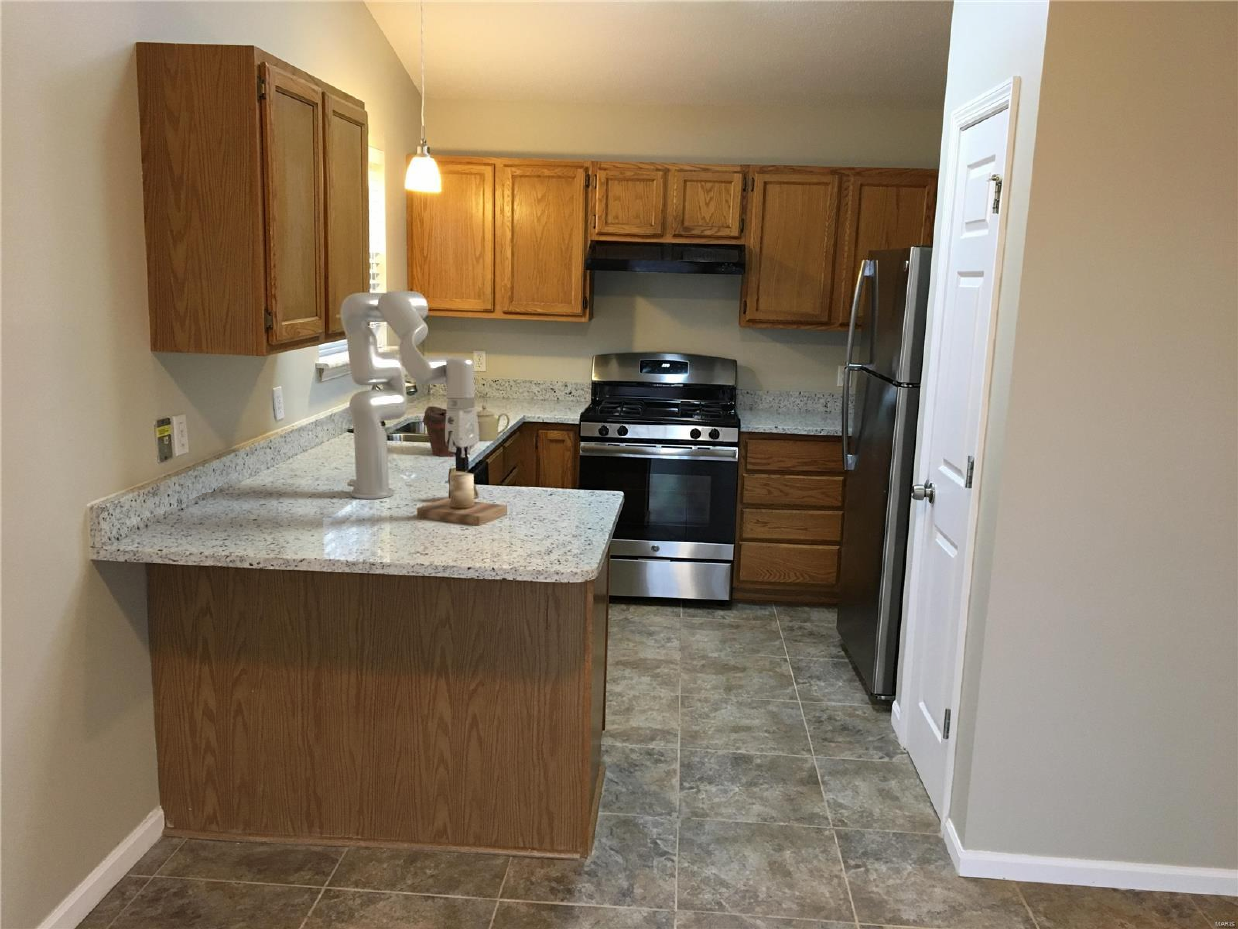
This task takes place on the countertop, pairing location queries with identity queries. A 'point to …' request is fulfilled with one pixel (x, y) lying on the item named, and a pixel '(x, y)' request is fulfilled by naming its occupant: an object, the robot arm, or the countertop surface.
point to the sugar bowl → (489, 425)
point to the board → (462, 512)
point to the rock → (453, 470)
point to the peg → (461, 490)
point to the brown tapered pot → (437, 430)
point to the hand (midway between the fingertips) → (462, 470)
